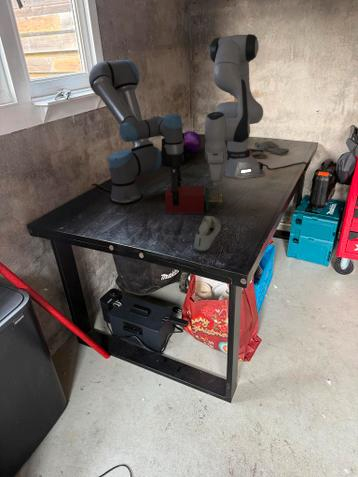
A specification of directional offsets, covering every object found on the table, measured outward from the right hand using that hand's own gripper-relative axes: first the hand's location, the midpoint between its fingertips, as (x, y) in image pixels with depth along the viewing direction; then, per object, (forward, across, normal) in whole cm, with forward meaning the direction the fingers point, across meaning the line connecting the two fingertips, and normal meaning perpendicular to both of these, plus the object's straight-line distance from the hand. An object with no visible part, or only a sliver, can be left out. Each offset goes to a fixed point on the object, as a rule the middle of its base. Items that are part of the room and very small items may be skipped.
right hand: (215, 184), depth 147 cm
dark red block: (+12, 0, -14) cm, 18 cm away
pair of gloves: (+11, -88, +32) cm, 94 cm away
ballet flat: (+12, +27, -3) cm, 30 cm away
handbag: (+11, -72, -26) cm, 77 cm away
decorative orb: (+11, -93, -17) cm, 95 cm away
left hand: (+7, 0, -17) cm, 19 cm away
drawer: (+11, 0, -8) cm, 13 cm away
